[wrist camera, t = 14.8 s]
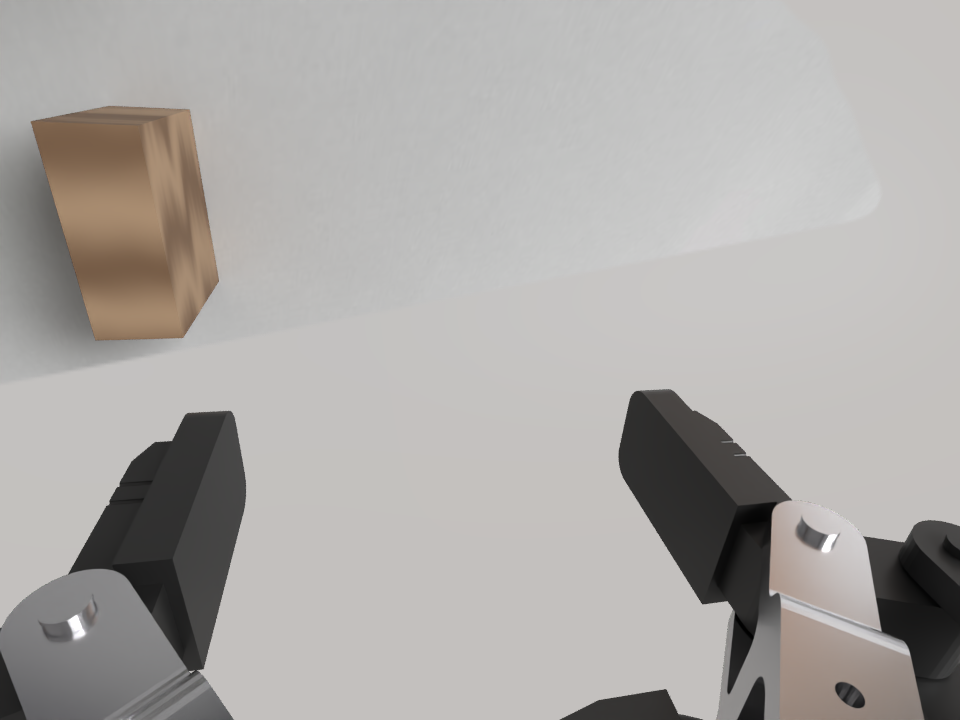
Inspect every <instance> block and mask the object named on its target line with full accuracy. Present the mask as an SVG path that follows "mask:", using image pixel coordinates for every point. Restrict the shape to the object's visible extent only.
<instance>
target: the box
mask: <svg viewBox="0 0 960 720" xmlns="http://www.w3.org/2000/svg"><path fill="white" fill-rule="evenodd" d="M31 124H32V127H33V131H34V134H35V138H36V141H37V144H38V148H39V151H40V155H41V158H42V161H43V165H44V168H45V171H46V175H47V178H48V182H49V185H50V188H51V192H52V195H53V198H54V202H55V205H56V209H57V212H58V215H59V219H60V222H61V226H62V229H63V232H64V236H65V239H66V242H67V246H68V249H69V253H70V256H71V259H72V263H73V266H74V270H75V273H76V276H77V280H78V283H79V286H80V290H81V293H82V297H83V300H84V303H85V307H86V310H87V314H88V317H89V320H90V324H91V327H92V330H93V334H94V337H95V340H127V339H163V338H183V337H184V336H185V334H186V332H187V331H188V329H189V328H190V326H191V325H192V323H193V321H194V320H195V318H196V317H197V315H198V313H199V312H200V310H201V309H202V307H203V305H204V304H205V302H206V301H207V299H208V297H209V296H210V294H211V293H212V291H213V290H214V288H215V286H216V285H217V283H218V282H219V279H218V273H217V267H216V261H215V256H214V250H213V244H212V238H211V232H210V226H209V220H208V215H207V209H206V203H205V197H204V191H203V185H202V179H201V174H200V168H199V162H198V156H197V150H196V144H195V138H194V133H193V127H192V121H191V115H190V110H187V109H165V108H143V107H120V106H107V107H102V108H97V109H92V110H87V111H81V112H76V113H71V114H66V115H61V116H56V117H51V118H46V119H41V120H35V121H31Z"/></svg>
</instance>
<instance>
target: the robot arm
mask: <svg viewBox="0 0 960 720" xmlns="http://www.w3.org/2000/svg"><path fill="white" fill-rule="evenodd" d="M619 465H620V470H621V473H622V476H623V478H624V480H625V482H626V483H627V485H628V486H629V488H630V490H631V491H632V493H633V494H634V496H635V498H636V499H637V501H638V502H639V504H640V506H641V507H642V509H643V510H644V512H645V514H646V515H647V517H648V518H649V520H650V522H651V523H652V525H653V526H654V528H655V529H656V531H657V533H658V534H659V536H660V538H661V539H662V541H663V542H664V544H665V546H666V547H667V549H668V550H669V552H670V554H671V555H672V557H673V558H674V560H675V561H676V563H677V565H678V566H679V568H680V570H681V571H682V573H683V574H684V576H685V577H686V579H687V581H688V582H689V584H690V585H691V587H692V589H693V590H694V592H695V593H696V595H697V597H698V598H699V600H700V601H701V603H702V604H709V603H717V602H724V601H728V602H729V604H730V605H731V607H732V608H733V611H732V613H731V616H730V618H729V622H728V629H727V630H728V631H727V639H726V648H725V656H724V665H723V666H724V667H723V675H722V683H721V692H720V701H719V709H718V714H717V719H716V720H960V526H957V525H954V524H950V523H946V522H942V521H931V520H928V521H922V522H919V523H917V524H916V525H915V526H914V527H913V529H912V531H911V533H910V534H909V536H908V538H907V540H906V541H905V543H903V542H896V541H890V540H884V539H877V538H870V537H864V536H862V534H861V533H860V532H859V530H858V529H857V528H856V527H855V526H854V525H853V524H852V523H850V522H849V521H848V520H847V519H845V518H844V517H842V516H841V515H839V514H837V513H836V512H834V511H832V510H830V509H828V508H825V507H823V506H820V505H817V504H814V503H810V502H805V501H796V500H794V501H792V500H791V498H789V496H788V495H787V494H786V493H785V492H784V491H783V490H782V489H781V488H780V487H779V486H778V485H777V484H776V483H775V482H774V481H773V480H772V479H771V478H770V477H769V476H768V475H767V474H766V473H765V472H764V471H763V470H762V469H761V468H760V467H759V466H758V465H757V464H756V463H755V462H754V461H753V460H752V459H751V457H749V456H746V452H745V451H744V450H743V449H742V448H741V447H740V446H739V445H738V444H737V443H733V439H732V438H731V437H730V436H729V435H728V434H727V433H726V432H725V431H724V430H723V429H722V428H721V427H720V426H719V425H718V424H717V423H715V422H714V421H712V420H710V419H709V418H707V417H705V416H704V415H702V414H700V413H698V412H697V411H692V410H691V409H690V408H689V407H688V406H687V405H686V404H685V403H684V401H683V400H682V399H681V398H680V397H679V396H678V395H677V394H676V393H675V392H674V391H672V390H669V389H666V390H665V389H664V390H645V391H636V392H634V393H633V394H632V396H631V398H630V402H629V406H628V411H627V415H626V420H625V424H624V429H623V434H622V438H621V443H620V448H619ZM245 499H246V480H245V472H244V467H243V462H242V456H241V450H240V444H239V439H238V433H237V427H236V423H235V418H234V415H233V413H232V412H231V411H219V412H201V413H200V412H199V413H187V414H186V415H185V417H184V418H183V420H182V422H181V424H180V426H179V428H178V430H177V432H176V434H175V436H174V438H173V441H167V442H155V443H153V444H152V445H151V446H150V447H148V448H147V449H146V450H145V451H144V452H142V453H141V454H140V455H139V456H138V457H136V458H135V459H134V460H133V461H132V462H131V464H130V465H129V467H128V469H127V471H126V473H125V474H124V476H123V478H122V479H121V481H120V487H117V488H116V490H115V492H114V494H113V496H112V497H111V499H110V504H109V505H108V506H106V508H105V510H104V511H103V513H102V515H101V517H100V519H99V520H98V522H97V524H96V526H95V527H94V529H93V531H92V533H91V535H90V536H89V538H88V540H87V542H86V543H85V545H84V547H83V549H82V550H81V552H80V554H79V556H78V558H77V559H76V561H75V563H74V565H73V566H72V568H71V570H70V572H69V574H68V575H66V576H62V577H60V578H58V579H56V580H53V581H51V582H49V583H48V584H46V585H44V586H42V587H40V588H39V589H37V590H36V591H34V592H33V593H31V594H30V595H29V596H28V597H26V598H25V599H24V600H23V601H22V602H21V603H20V604H19V605H17V606H16V608H14V610H13V611H12V612H11V613H10V615H9V616H8V617H7V619H6V621H5V622H4V624H3V626H2V628H0V720H233V718H232V716H231V715H230V714H229V712H228V711H227V709H226V708H225V706H224V705H223V703H222V702H221V700H220V699H219V697H218V696H217V694H216V693H215V691H214V690H213V689H212V687H211V686H210V684H209V683H208V682H207V680H206V679H205V678H204V676H203V675H201V673H200V672H198V671H197V670H201V669H204V665H205V661H206V657H207V653H208V649H209V645H210V642H211V638H212V633H213V630H214V626H215V622H216V618H217V614H218V610H219V606H220V602H221V598H222V595H223V590H224V587H225V583H226V579H227V575H228V571H229V567H230V563H231V559H232V555H233V551H234V547H235V544H236V539H237V536H238V532H239V528H240V524H241V520H242V516H243V512H244V508H245ZM193 670H195V671H194V672H192V673H190V672H189V671H193ZM560 720H702V719H698V718H694V717H690V716H686V715H680V714H678V713H677V711H676V709H675V706H674V704H673V702H672V700H671V698H670V696H669V694H668V692H667V690H666V689H664V690H659V691H653V692H646V693H640V694H634V695H628V696H622V697H616V698H610V699H603V700H598V701H596V702H594V703H592V704H590V705H588V706H586V707H584V708H582V709H580V710H578V711H577V712H574V713H572V714H570V715H568V716H566V717H564V718H562V719H560Z"/></svg>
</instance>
